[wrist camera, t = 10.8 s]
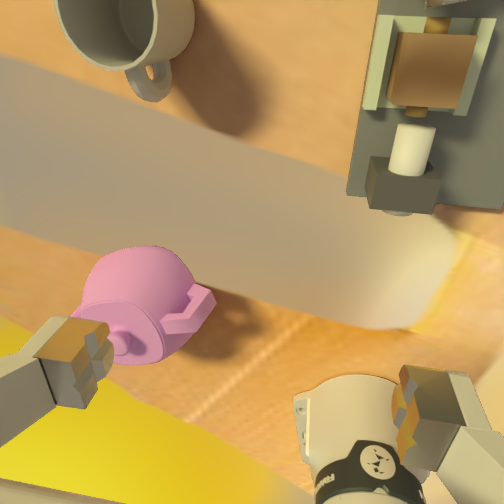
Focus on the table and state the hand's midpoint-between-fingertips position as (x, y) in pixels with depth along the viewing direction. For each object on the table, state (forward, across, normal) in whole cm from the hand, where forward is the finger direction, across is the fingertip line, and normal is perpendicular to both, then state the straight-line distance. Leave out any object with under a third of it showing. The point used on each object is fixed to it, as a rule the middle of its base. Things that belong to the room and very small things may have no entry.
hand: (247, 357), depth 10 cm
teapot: (+29, +17, +21) cm, 40 cm away
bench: (+29, -12, -5) cm, 32 cm away
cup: (+29, +13, -7) cm, 33 cm away
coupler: (+28, -9, -5) cm, 30 cm away
